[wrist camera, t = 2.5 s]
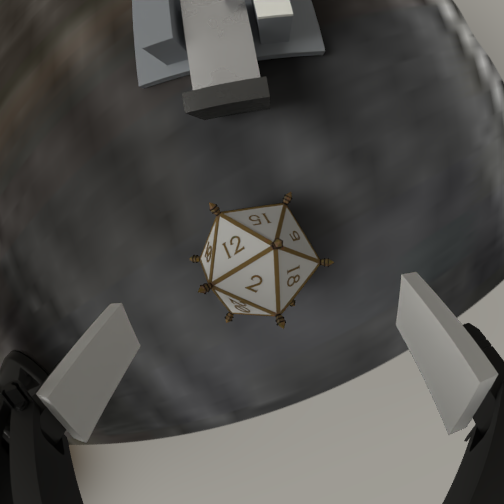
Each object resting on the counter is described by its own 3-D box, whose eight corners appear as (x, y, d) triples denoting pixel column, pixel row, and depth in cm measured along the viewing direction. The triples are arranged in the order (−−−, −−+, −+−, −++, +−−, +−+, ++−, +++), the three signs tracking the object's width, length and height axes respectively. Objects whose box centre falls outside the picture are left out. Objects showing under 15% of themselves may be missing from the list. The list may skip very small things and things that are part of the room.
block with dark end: (204, 120, 18) (181, 111, 13) (188, 15, 14) (165, -16, 9) (306, 104, 17) (319, 89, 12) (282, -1, 14) (285, -39, 9)
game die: (279, 238, 26) (324, 336, 20) (187, 255, 24) (213, 367, 18) (298, 156, 19) (376, 268, 13) (176, 168, 17) (205, 310, 11)
